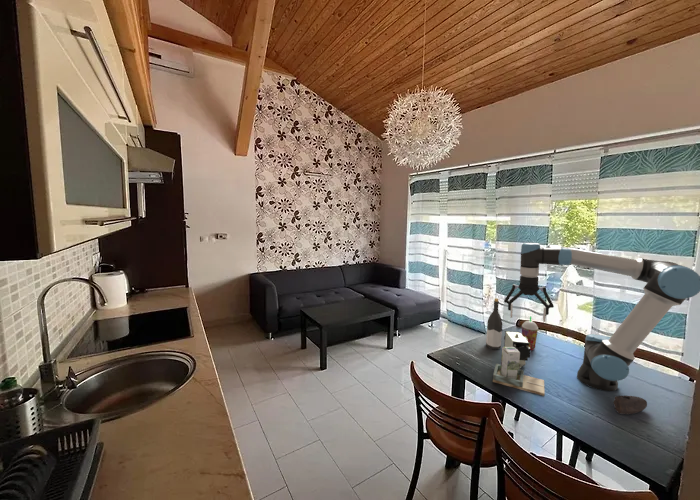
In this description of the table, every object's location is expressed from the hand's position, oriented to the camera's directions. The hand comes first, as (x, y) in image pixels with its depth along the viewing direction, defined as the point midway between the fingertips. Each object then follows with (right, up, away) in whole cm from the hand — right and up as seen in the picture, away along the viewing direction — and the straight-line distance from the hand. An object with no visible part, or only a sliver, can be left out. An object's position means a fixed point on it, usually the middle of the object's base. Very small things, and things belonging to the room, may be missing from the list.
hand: (527, 319), depth 143 cm
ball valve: (+3, -29, +16) cm, 33 cm away
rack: (-4, -31, 0) cm, 31 cm away
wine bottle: (+2, -26, +38) cm, 45 cm away
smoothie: (+21, -26, +35) cm, 48 cm away
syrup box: (-8, -29, +2) cm, 30 cm away
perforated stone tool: (+30, -34, -21) cm, 50 cm away
